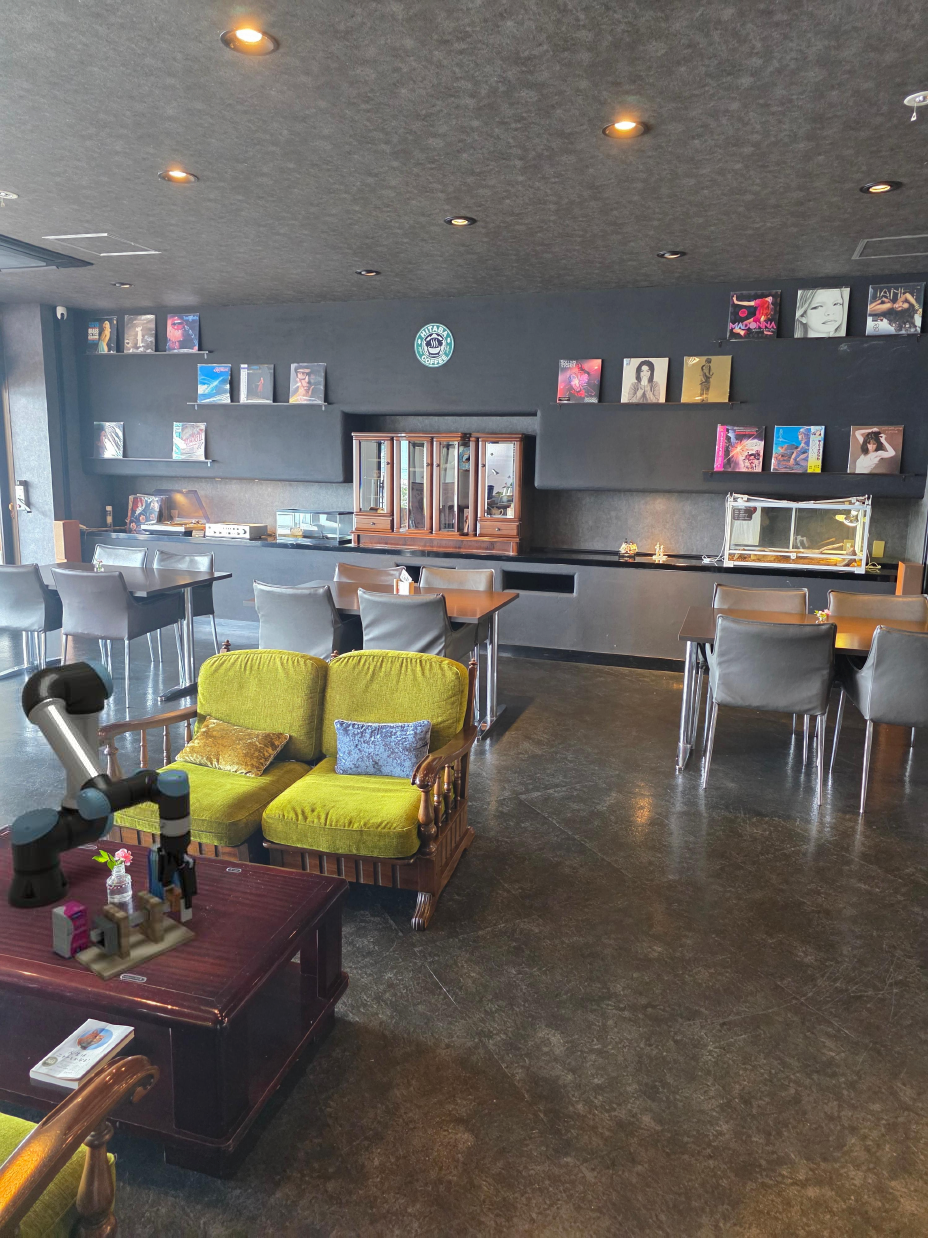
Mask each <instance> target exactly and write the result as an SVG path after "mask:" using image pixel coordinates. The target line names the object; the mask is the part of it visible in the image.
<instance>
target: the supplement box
mask: <svg viewBox="0 0 928 1238" xmlns="http://www.w3.org/2000/svg"><path fill="white" fill-rule="evenodd" d="M87 908H88V907H86V906H85V905H82V904H80V903H78V902H76V901H75V900H72V901H70V902H68V903H65V904H61V905H60V906H59V907H56V908H54V909H52V910H51V914H52V916H51V917H52V919H51V920H52V943H53V953H54V955H58V956H59V957H61V958H63V959H65V960H69V959H70V958H73V957H75V954H77V953H79V952H81V951H84V950H86V949H88V948H89V940H88V938H89V937H88V913H87V912H88V911H87Z"/></svg>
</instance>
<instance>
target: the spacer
mask: <svg viewBox="0 0 928 1238" xmlns="http://www.w3.org/2000/svg"><path fill="white" fill-rule="evenodd" d="M91 926H92V930H95V929H97V928H98V929H100V930H101V931H103V932H104V938H103V939H101V940H99V941H96V942H94V941H93V940H92V947H93V946H94V947H96V948H97V949H99V950H100V951H102V952H103V953H105V954H106V955H107V956H110V955H112V954H115V953H117V952H118V939H117V925H116V924H115V923H113V922H112V921H110V920H109V919H107V918H105V917H104V915H102V914H101V915H99V916H98V915H97V916H96V917H93V918H91ZM92 930H91V931H92Z"/></svg>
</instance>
